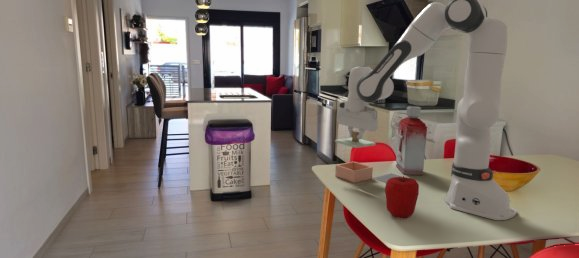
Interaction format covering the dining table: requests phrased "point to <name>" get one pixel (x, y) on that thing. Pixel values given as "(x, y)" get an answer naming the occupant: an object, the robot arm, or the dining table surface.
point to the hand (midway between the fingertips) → (355, 138)
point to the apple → (401, 196)
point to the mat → (386, 177)
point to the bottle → (411, 143)
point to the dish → (354, 171)
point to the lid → (355, 141)
